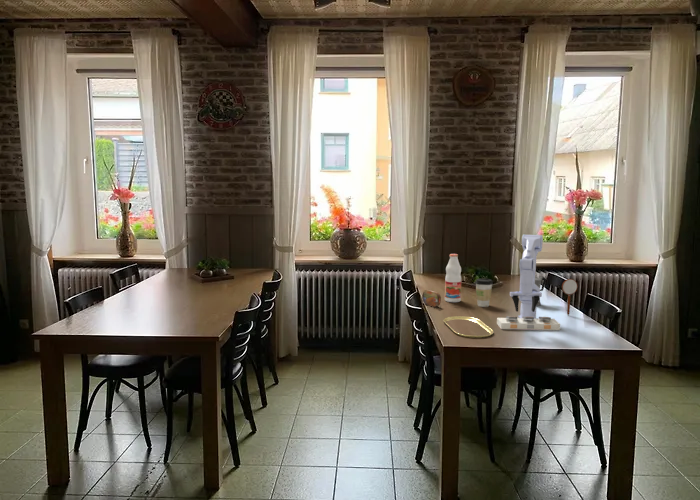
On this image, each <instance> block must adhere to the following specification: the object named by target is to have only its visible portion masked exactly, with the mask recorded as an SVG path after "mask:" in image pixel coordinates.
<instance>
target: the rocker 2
mask: <svg viewBox="0 0 700 500" xmlns="http://www.w3.org/2000/svg"><path fill="white" fill-rule="evenodd" d="M538 318H539V319H544V320H551V319H552V317H549V316H538Z"/></svg>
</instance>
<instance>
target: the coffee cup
mask: <svg viewBox="0 0 700 500" xmlns="http://www.w3.org/2000/svg"><path fill="white" fill-rule="evenodd" d="M474 284H475V292H476V300H477V301H476V302H477V306H478V307H481V308H488V307H489V306H490V301H491V295H492V290H493V288H492V287H493V284H494V283H493V280H492V279H490V278H477V279H476V281H475V282H474Z"/></svg>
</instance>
